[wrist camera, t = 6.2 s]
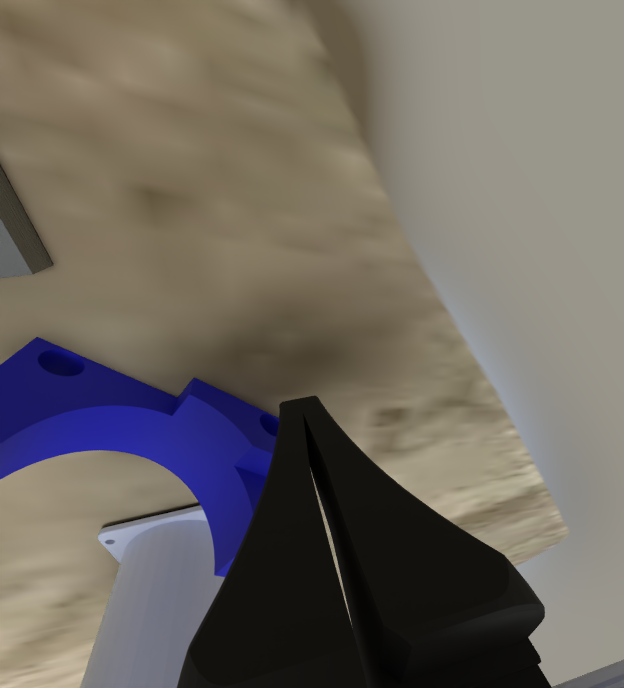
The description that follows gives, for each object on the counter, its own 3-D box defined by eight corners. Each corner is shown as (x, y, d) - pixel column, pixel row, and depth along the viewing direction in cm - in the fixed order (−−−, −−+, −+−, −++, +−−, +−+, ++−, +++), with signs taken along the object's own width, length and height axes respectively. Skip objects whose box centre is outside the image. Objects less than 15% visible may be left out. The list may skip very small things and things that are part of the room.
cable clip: (288, 420, 17) (307, 524, 12) (243, 466, 18) (243, 579, 13) (55, 307, 11) (-98, 411, 6) (12, 384, 13) (-146, 524, 8)
